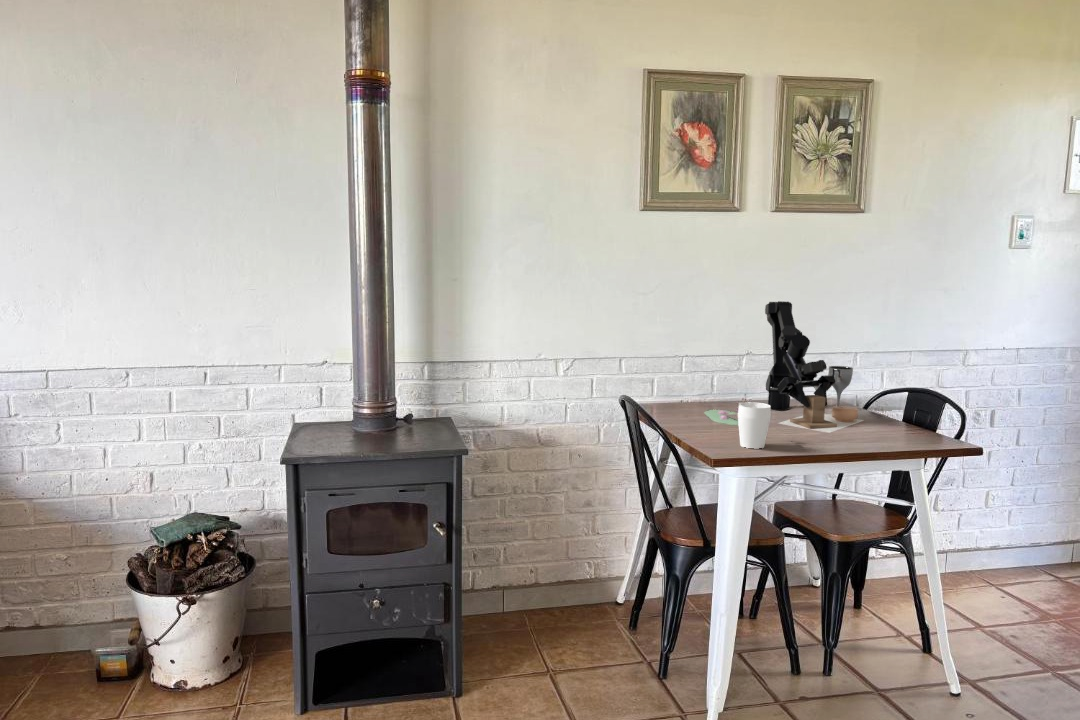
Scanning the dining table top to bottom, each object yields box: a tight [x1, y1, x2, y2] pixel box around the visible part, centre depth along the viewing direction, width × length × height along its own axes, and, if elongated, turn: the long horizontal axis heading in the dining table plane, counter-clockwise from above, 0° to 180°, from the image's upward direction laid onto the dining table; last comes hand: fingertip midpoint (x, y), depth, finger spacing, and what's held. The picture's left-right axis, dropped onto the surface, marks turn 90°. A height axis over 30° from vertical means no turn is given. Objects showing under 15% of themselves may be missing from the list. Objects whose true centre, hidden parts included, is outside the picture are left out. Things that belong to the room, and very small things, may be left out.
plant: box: [703, 393, 752, 426], centre depth 265 cm, size 25×21×9 cm
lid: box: [789, 394, 837, 430], centre depth 251 cm, size 10×10×9 cm
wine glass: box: [828, 365, 854, 406], centre depth 280 cm, size 8×8×15 cm
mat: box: [777, 413, 865, 434], centre depth 256 cm, size 17×26×1 cm, turn 136°
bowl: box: [831, 405, 859, 422], centre depth 259 cm, size 8×8×4 cm
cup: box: [737, 401, 772, 450], centre depth 226 cm, size 9×9×12 cm
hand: (817, 406), depth 250 cm, fingers open, 6 cm apart
